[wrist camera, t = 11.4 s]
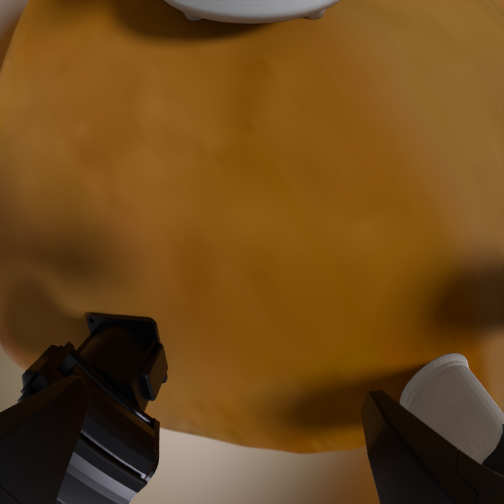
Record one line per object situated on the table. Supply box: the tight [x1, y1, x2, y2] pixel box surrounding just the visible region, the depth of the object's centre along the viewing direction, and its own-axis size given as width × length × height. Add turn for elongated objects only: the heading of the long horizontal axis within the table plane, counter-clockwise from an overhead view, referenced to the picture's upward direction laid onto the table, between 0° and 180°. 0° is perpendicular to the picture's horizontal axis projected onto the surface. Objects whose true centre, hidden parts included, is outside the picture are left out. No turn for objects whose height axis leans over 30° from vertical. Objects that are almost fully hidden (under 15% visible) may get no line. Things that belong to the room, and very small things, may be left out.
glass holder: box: [400, 353, 504, 477], centre depth 17 cm, size 9×14×15 cm, turn 50°
